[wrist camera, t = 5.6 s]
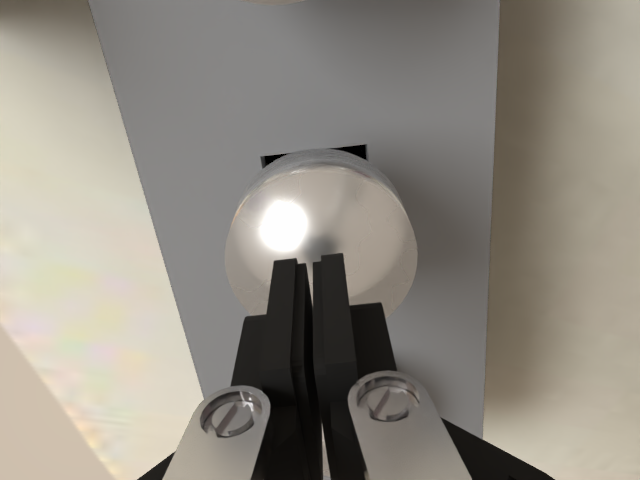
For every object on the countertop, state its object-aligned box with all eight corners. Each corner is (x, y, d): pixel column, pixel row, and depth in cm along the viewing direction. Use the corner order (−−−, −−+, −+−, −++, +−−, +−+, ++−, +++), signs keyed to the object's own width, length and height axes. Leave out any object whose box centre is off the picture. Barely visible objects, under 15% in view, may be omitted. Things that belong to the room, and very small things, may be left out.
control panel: (451, -329, 16) (519, -485, 11) (450, 386, 30) (480, 475, 24) (82, -272, 17) (-28, -394, 11) (247, 405, 30) (232, 497, 25)
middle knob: (380, 101, 19) (414, 160, 12) (388, 228, 21) (419, 331, 15) (241, 117, 19) (205, 184, 13) (264, 241, 21) (243, 348, 15)
